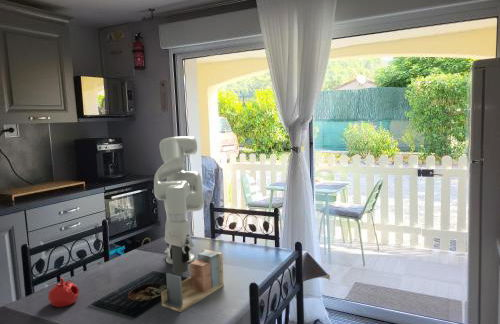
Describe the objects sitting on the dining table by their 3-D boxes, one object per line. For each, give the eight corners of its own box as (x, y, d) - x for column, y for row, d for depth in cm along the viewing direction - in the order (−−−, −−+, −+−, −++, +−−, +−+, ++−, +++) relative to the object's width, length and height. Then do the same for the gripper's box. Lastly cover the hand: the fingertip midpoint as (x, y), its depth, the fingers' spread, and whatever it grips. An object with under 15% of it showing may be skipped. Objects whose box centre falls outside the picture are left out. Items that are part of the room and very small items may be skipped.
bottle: (190, 268, 154) (188, 232, 152) (183, 274, 149) (181, 238, 146) (177, 266, 156) (175, 231, 153) (170, 272, 150) (167, 236, 148)
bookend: (164, 303, 130) (162, 275, 129) (169, 300, 132) (167, 272, 131) (177, 308, 126) (175, 279, 125) (182, 305, 128) (181, 276, 127)
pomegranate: (51, 313, 128) (48, 287, 127) (46, 302, 137) (43, 278, 135) (82, 303, 134) (79, 279, 133) (76, 293, 142) (73, 270, 141)
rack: (161, 305, 131) (159, 269, 129) (205, 280, 150) (204, 249, 148) (180, 312, 126) (178, 275, 124) (223, 285, 145) (222, 253, 143)
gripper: (154, 215, 150) (157, 258, 153) (186, 222, 141) (189, 268, 144) (168, 210, 156) (171, 252, 159) (200, 217, 147) (202, 261, 150)
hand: (179, 259), depth 152 cm, fingers closed on bottle, 5 cm apart
